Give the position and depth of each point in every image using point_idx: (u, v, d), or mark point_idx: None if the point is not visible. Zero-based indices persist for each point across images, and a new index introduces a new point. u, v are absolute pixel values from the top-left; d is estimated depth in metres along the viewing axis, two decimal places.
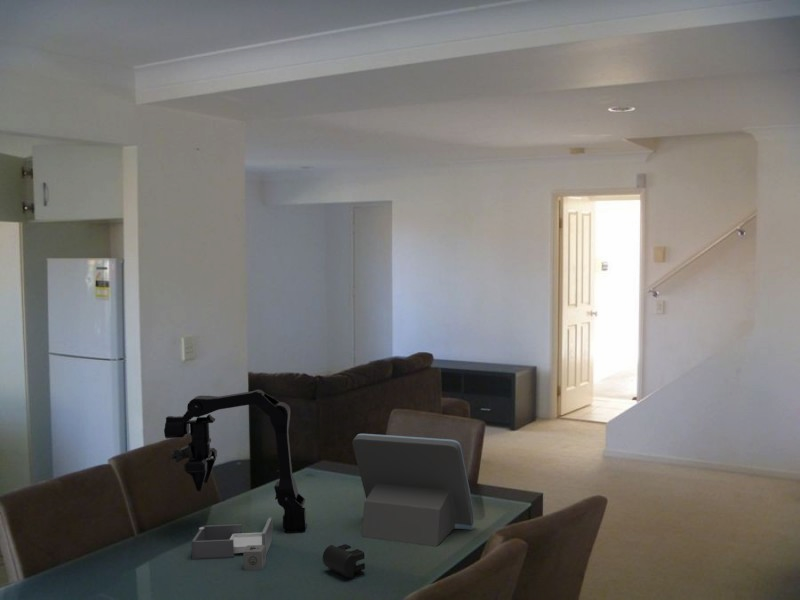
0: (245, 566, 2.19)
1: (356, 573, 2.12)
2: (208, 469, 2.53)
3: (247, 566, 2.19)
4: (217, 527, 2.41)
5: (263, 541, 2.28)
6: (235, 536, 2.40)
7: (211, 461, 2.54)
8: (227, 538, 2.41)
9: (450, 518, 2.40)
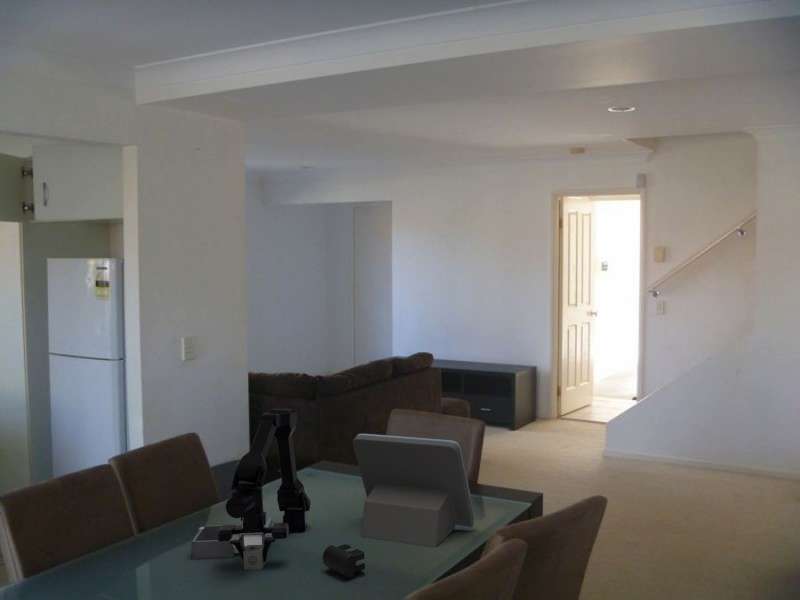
0: (245, 566, 2.18)
1: (356, 573, 2.12)
2: None
3: (247, 566, 2.18)
4: (217, 527, 2.41)
5: (263, 541, 2.28)
6: None
7: None
8: None
9: (449, 519, 2.39)
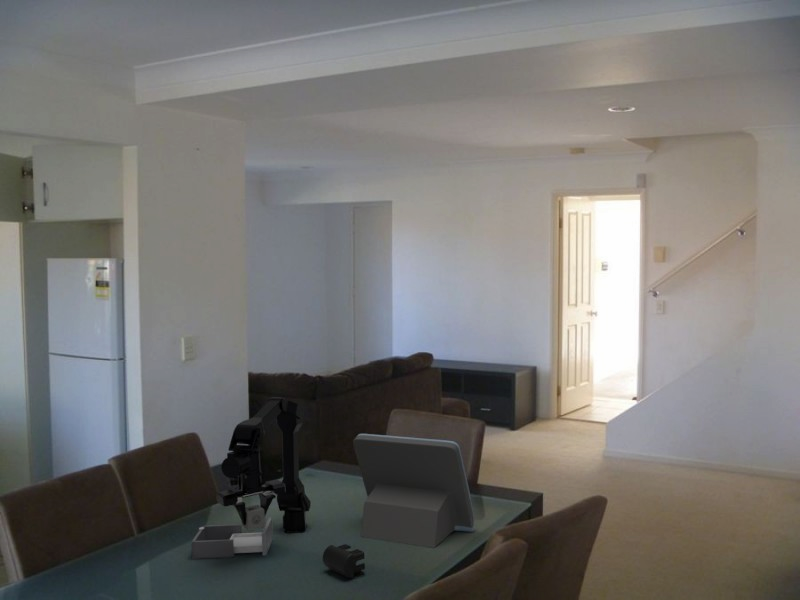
0: (249, 526, 2.22)
1: (356, 573, 2.12)
2: (263, 506, 2.26)
3: (251, 526, 2.23)
4: (217, 527, 2.41)
5: (263, 541, 2.28)
6: (235, 536, 2.40)
7: (265, 498, 2.25)
8: (227, 538, 2.41)
9: (449, 519, 2.39)
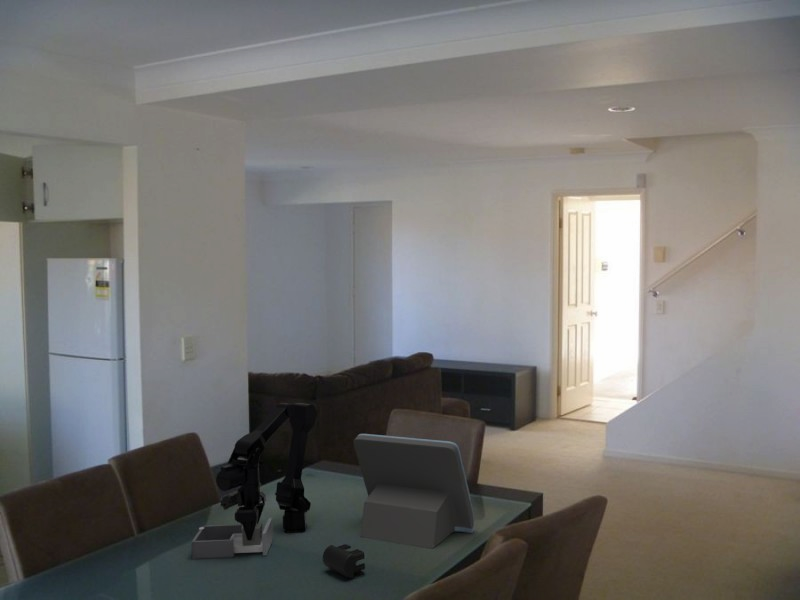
0: (260, 541, 2.33)
1: (356, 573, 2.12)
2: (257, 515, 2.39)
3: (260, 541, 2.33)
4: (217, 527, 2.41)
5: (263, 541, 2.28)
6: (235, 536, 2.40)
7: (260, 506, 2.40)
8: (227, 538, 2.41)
9: (449, 520, 2.38)
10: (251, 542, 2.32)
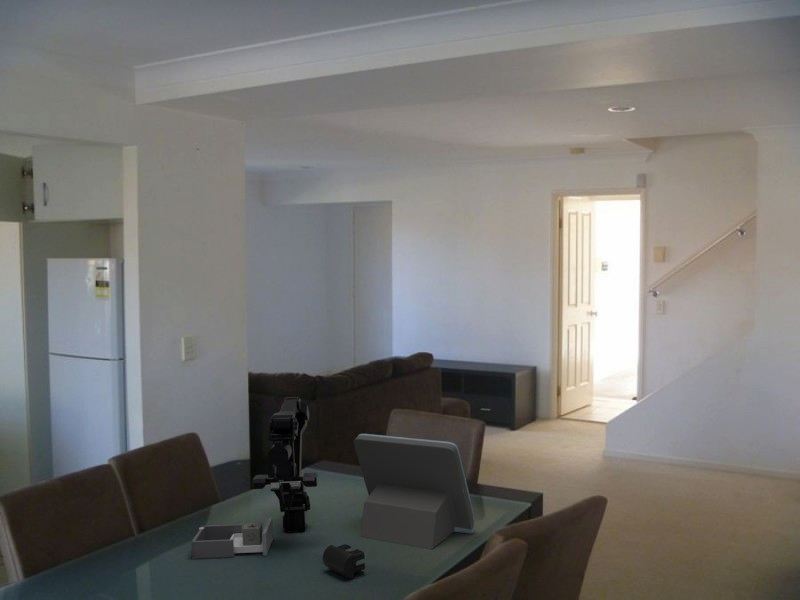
0: (260, 541, 2.33)
1: (356, 573, 2.12)
2: None
3: (260, 541, 2.33)
4: (217, 527, 2.41)
5: (263, 541, 2.28)
6: (235, 536, 2.40)
7: (289, 489, 2.32)
8: (227, 538, 2.41)
9: (448, 521, 2.37)
10: (251, 542, 2.32)
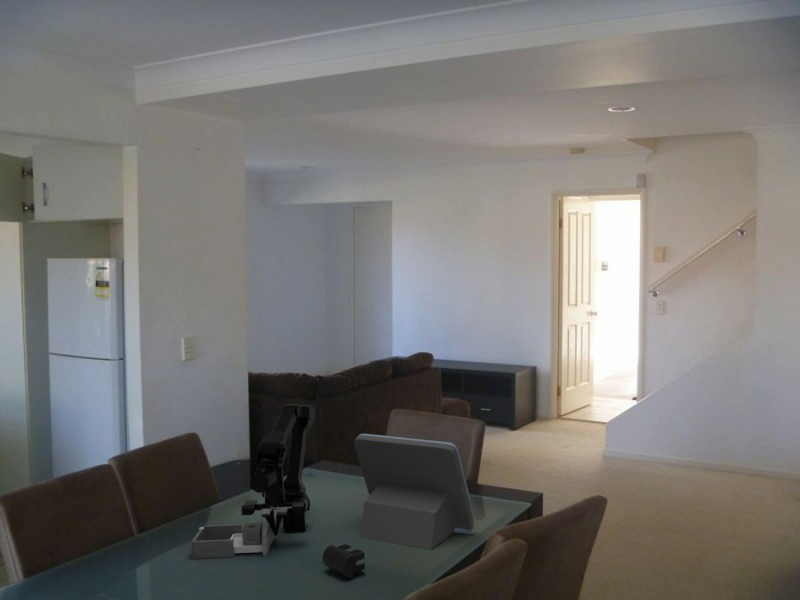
0: (260, 541, 2.33)
1: (356, 573, 2.12)
2: (276, 522, 2.34)
3: (260, 541, 2.33)
4: (217, 527, 2.41)
5: (263, 541, 2.28)
6: (235, 536, 2.40)
7: (276, 515, 2.32)
8: (227, 538, 2.41)
9: (448, 522, 2.37)
10: (251, 542, 2.32)
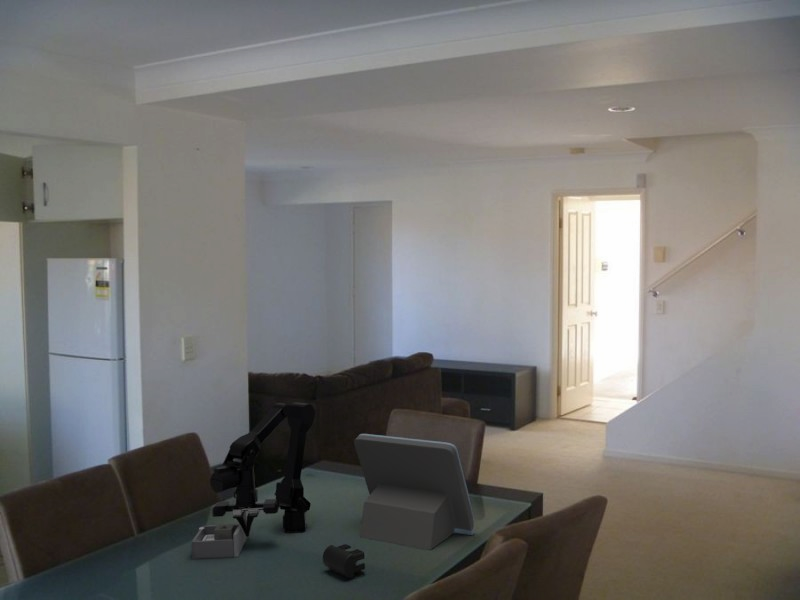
0: None
1: (356, 573, 2.12)
2: (247, 523, 2.33)
3: None
4: None
5: (235, 542, 2.28)
6: (208, 537, 2.40)
7: (247, 516, 2.32)
8: None
9: (448, 522, 2.36)
10: None
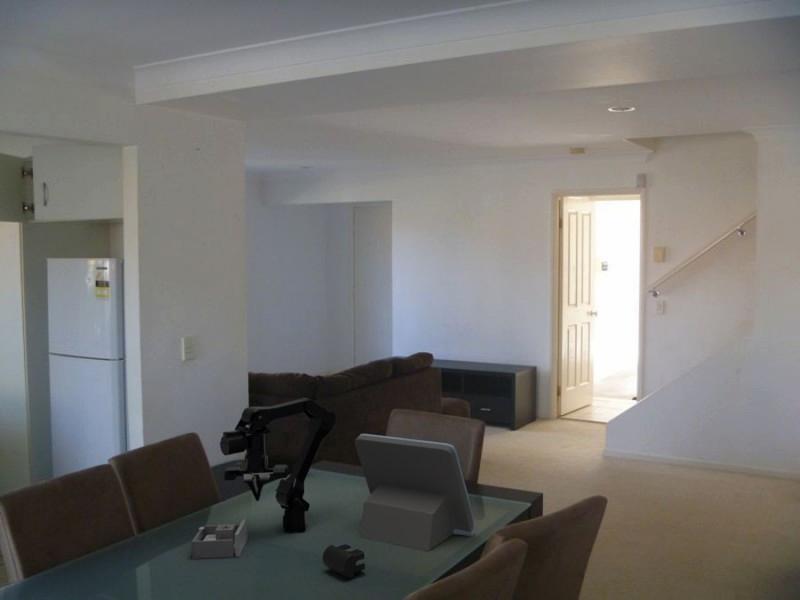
0: None
1: (356, 573, 2.12)
2: None
3: None
4: None
5: (236, 542, 2.28)
6: (209, 537, 2.40)
7: (258, 480, 2.39)
8: None
9: (447, 523, 2.36)
10: None
